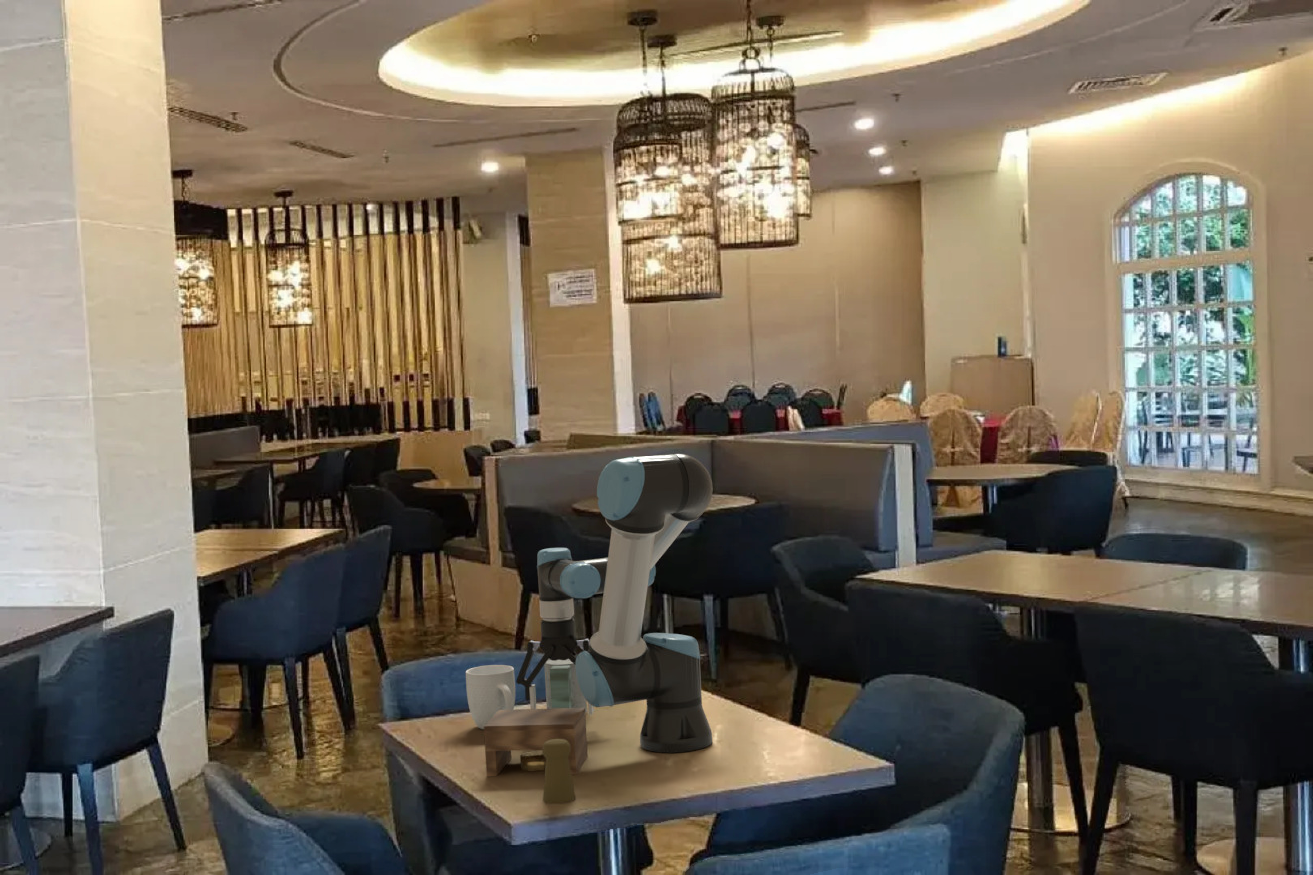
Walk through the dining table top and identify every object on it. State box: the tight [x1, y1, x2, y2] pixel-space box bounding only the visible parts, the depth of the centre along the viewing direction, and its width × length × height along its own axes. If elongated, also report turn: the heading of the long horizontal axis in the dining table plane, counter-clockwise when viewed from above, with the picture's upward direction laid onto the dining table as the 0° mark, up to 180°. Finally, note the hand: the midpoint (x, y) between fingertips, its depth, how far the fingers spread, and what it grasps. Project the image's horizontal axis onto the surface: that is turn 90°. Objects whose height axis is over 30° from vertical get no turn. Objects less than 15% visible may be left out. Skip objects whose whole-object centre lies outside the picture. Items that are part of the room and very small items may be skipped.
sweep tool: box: [550, 666, 573, 708], centre depth 312 cm, size 24×4×14 cm, turn 174°
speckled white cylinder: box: [543, 659, 588, 714], centre depth 339 cm, size 10×10×12 cm
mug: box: [465, 664, 516, 731], centre depth 327 cm, size 15×11×13 cm
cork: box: [542, 739, 576, 805], centre depth 268 cm, size 6×6×11 cm
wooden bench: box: [483, 708, 589, 777], centre depth 292 cm, size 18×14×10 cm
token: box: [519, 750, 546, 772], centre depth 293 cm, size 7×7×2 cm
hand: (562, 714), depth 322 cm, fingers open, 12 cm apart
